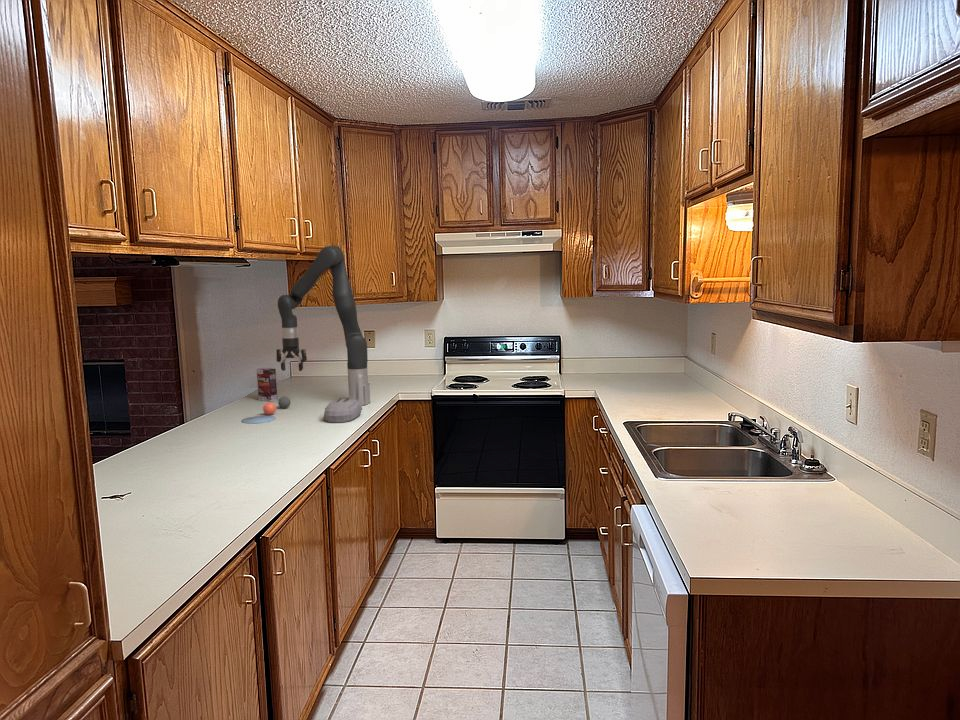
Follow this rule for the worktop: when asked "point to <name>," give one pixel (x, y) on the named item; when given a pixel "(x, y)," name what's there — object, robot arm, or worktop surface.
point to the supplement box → (267, 384)
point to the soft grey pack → (342, 410)
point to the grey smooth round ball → (284, 402)
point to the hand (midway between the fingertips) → (292, 370)
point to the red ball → (269, 408)
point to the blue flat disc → (258, 419)
